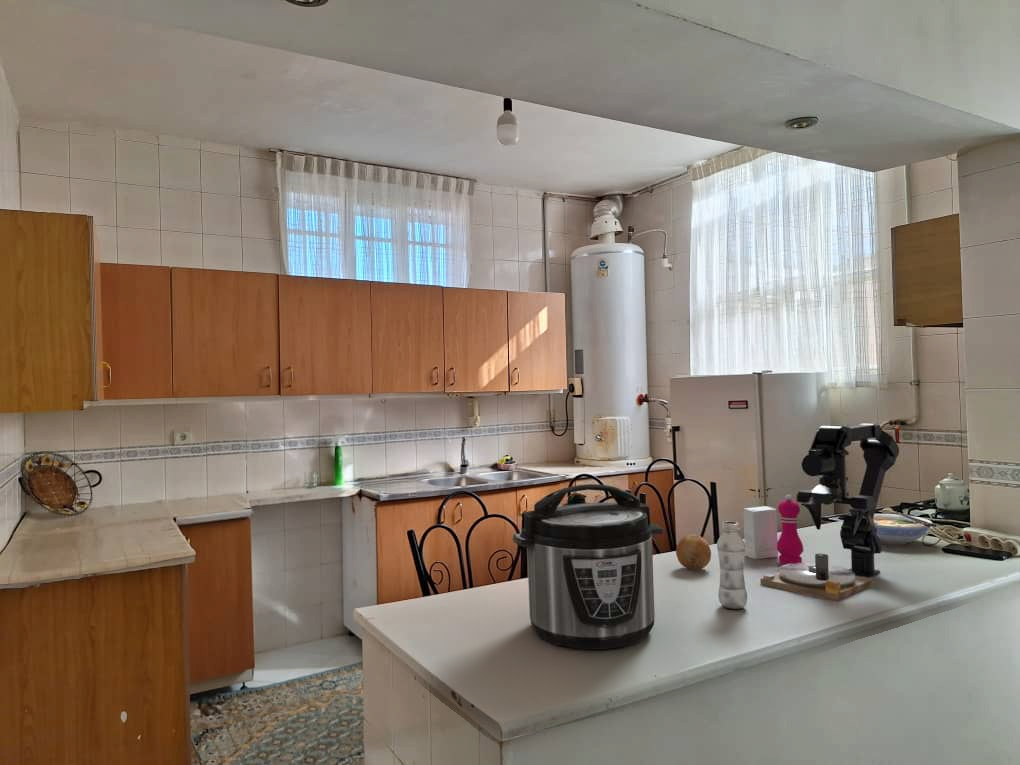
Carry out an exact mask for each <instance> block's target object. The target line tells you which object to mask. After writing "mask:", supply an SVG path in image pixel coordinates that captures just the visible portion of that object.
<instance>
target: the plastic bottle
mask: <svg viewBox="0 0 1020 765" xmlns="http://www.w3.org/2000/svg"><path fill="white" fill-rule="evenodd" d="M739 526H740V524H739V522H737V521H729V520H726V521H723V522H722V529H721V530H722V533H721V535H720V537H719V538H718V539H717V543H716V548H717V554H718V560H719V572H720V573H719V574H720V575H719V586H718V594H717V597H718V602H719V603H720V605H721V606H722V607H724V608H728V609H734V610H736V609H737V610H738V609H744V608H745V607H746V606H747V603H748V592H747V589H746V581H745V572H744V571H745V570H744V568H745V556H746V555H745V540H744V539H743V538H742V536H741V535H740V534H739V532H740V527H739Z"/></svg>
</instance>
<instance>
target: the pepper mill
mask: <svg viewBox="0 0 1020 765" xmlns="http://www.w3.org/2000/svg"><path fill="white" fill-rule="evenodd" d="M792 499H793V497H792V495H791V494H787V495H785V499H784V500H782V501H780V503H779V504H778V506H777V511H778V514H780V516H779V518H780V522H781V527H782V528H781V532H780V535H779V537H778V543H777V550H778V554H780V555H778V563H779V564H781V563H782V564H781V565H784V564H790V563H803V558H802V556H801V555H802V554H803V552H804V546H803V541H802V540H801V538H800V535H799V533H798V528H797V527H798V523H799V517H798V515H799V514H800V513H801V508H800V504H798V503H799V502H796V501H795V500H792Z"/></svg>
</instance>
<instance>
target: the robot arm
mask: <svg viewBox="0 0 1020 765" xmlns="http://www.w3.org/2000/svg"><path fill="white" fill-rule="evenodd" d="M868 439H869V440H868ZM856 441H860V443H859V447H860V448H861V450H862V452H863V455H862V457H863V459H864V462H865V465H866V468H865V471H864V475H863V479H862V482H861V485H860V489H859V491H858V492H859V494H858V495H855V496H851V497H850V496H849V491H847V481H849V476H847V473H846V472H847V471H846V470H847V468H846V464H847V463H846V456H849V455H850V453H849V451H848V450H847V449H846V448H847V447H849V446H851V445H852V442H856ZM899 453H900V447H899V445H898V444H897V442H896V440H895V438H894V437H893V436H892V435H890V434H889V433H887V432H885V430H883V429H882V427H881V426H880V424H877V423H860V424H855V425H851V426H841V425H839V426H838V425H821V426H819V427H818V430H817V431H816V432H815V435H814V438H813V441H812V443H811V446H810V449H808V454H806V455H805V456H804V457H803V459H802V462H801V468H802V471H803V472H804V473H805V474H806V475H807V476H809V477H818V476H820V477H819V483H818V484H817V485H816V486H815V487H814V488H813V489H805V490H800V491H797V494H796V495H795V496H796V497H795V498H796V499H795V500H796V501H795V502H797V503H801V504H800V505H801V506H804V507H805V508H806V509H807V510H808V511H809V514H810V515H811V518H812V521H813V523H814V526H815V528H816V529H817V530H818V531H819V530H821V526H822V525H821V524H822V505H827V506H828V505H829V506H830V505H832V503H834V504H841V505H842V504H844V505H849V506H850V507H851V508H850V509H848V510H849V512H850V514H845V516H844V517H843V520H842V525H841V526H840V532H839V536H840V540H841V544H842V548H843V549H844V550H850V557H851V558H850V562H851V564H850V565H851V566H850V567H851V568H849V570H851V571H852V572H854V574H855V575H859V576H860V575H861V576H865V577H872V576H875V575H877V574H879V573H881V570H879V569H875V554H881V552H882V551H883V547H884V546H883V545H884V543H882V542H881V540H880V539H879V537H878V536H877V534H876V533H877V528H876V525H875V522H874V520H873V517H874V514H876V509H877V505H878V501H879V498H880V494H881V490H882V487H883V482H884V479H885V476H886V472H888V470H890V469H891V467H893V466H894V465H895V464H896V461H897V457H899ZM848 496H849V497H848Z"/></svg>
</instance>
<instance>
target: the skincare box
mask: <svg viewBox="0 0 1020 765" xmlns="http://www.w3.org/2000/svg"><path fill="white" fill-rule="evenodd" d="M742 511H743V533H744V539H743V541H744V543H745V556H747V557H749V558H751V559H753V560H760V559H768V558H770V559H771V558H779V552H778V550H777V543H778V540H779V537H778V516H777V514H778V513H777V511H778V509H776V508H774V507H771V506H768V505H764V506H754V507H746V508H745V507H744V508H743V510H742Z"/></svg>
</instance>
